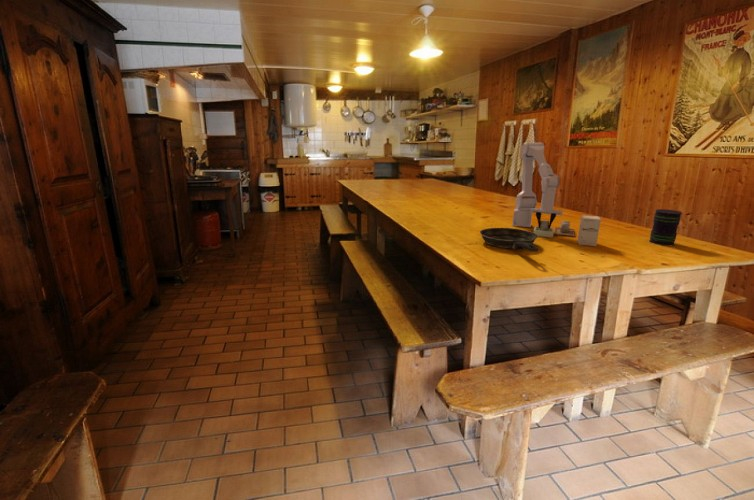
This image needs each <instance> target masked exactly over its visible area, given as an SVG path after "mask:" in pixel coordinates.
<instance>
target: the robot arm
mask: <svg viewBox="0 0 754 500" xmlns="http://www.w3.org/2000/svg"><path fill="white" fill-rule="evenodd" d="M544 152H545V144H544V143H543V142H528V141H526V142H524V143H523V144H522V146H521V147H520V159H522V177H521V179H522V180H521V191H520V192H519V193H518V194H517V195H516V199H515V207H516V208H514V209H513V216H512V224H511V225H512V226H514V227H521V228H522V227H524V228H531V227H532V218H533V214H535V217H536V220H537V227H538V228H540V223H541V220H542V214H545V215H549V214H550V217H549V228H548V229H550V228H552V227H551V226H552V223H553V222H554V220H555V218H556V217H557V215H560V216H563V212H564V211H563V210H561V209H560V210H557V209H554V205H555V197H556V190H557V188H559V185H560V178H559V177H560V176H558V175H556V174H555V173H554V171H553V169H552V167H551V165H550V164H549V163H547V161H546V160H547V159H546V156H545V153H544ZM534 161H536V163H537V165H538V169H537V171H538V173H539V176H540V178H541V180H540V181H541V182H540V184H541V185H540V186H541V192H542V194H541V202H540V208H537V204H538V200H537V194H535V192H534V191H533V173H534V172H533V170H534V169H533V168H534V167H533V166H534Z"/></svg>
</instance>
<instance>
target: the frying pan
mask: <svg viewBox="0 0 754 500" xmlns="http://www.w3.org/2000/svg"><path fill="white" fill-rule="evenodd" d="M479 234H480V235H481V238H482V239H483V241H484V242H486V243H487V244H488V245H490V246H493V247H496V248H501V249H511V250H513V249H514V250H515V251H524V250H526V251H529V252H536V253H537V252H538V251H539V247H537V246H536V245H534V244H533V243H534V242H535V241H536V239H538V237H539V236H537V235H536V234H535V233H533V232H532V231H530V230H525V229H520V228H519V229H518V228H514V227H513V228H511V227H510V228H509V227H488V228H484V229H482V230H480V231H479Z"/></svg>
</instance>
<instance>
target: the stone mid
mask: <svg viewBox="0 0 754 500" xmlns="http://www.w3.org/2000/svg"><path fill="white" fill-rule="evenodd" d="M560 223H561V222H560ZM570 225H571V222H570V223H565V222H563V223H561V224H560V228H561V229H560V232H562V233H569V228H571V227H570Z"/></svg>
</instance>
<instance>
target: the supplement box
mask: <svg viewBox="0 0 754 500" xmlns="http://www.w3.org/2000/svg"><path fill="white" fill-rule="evenodd" d="M601 220H602V219H601V217H600V216H596V215H595V216H594V215H583V214H581V217H580V223H579V227H578V228H579V229H578V235H577V241H576V242H577V243H578V245H579V246H589V247H597V244H598V237H599V232H600V227H601Z"/></svg>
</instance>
